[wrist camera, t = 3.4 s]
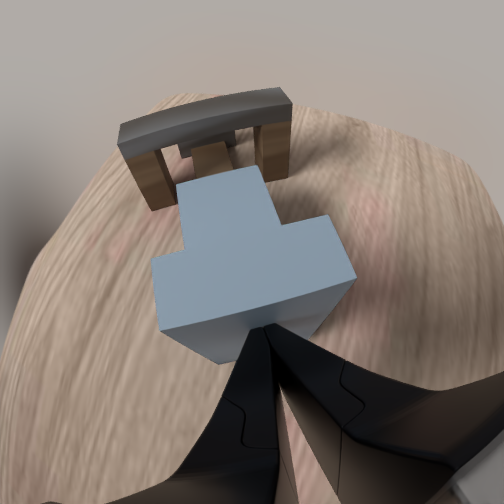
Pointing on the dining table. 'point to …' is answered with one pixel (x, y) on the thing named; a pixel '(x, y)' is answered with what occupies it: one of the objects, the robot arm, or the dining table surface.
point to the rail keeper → (207, 139)
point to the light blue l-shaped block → (245, 267)
